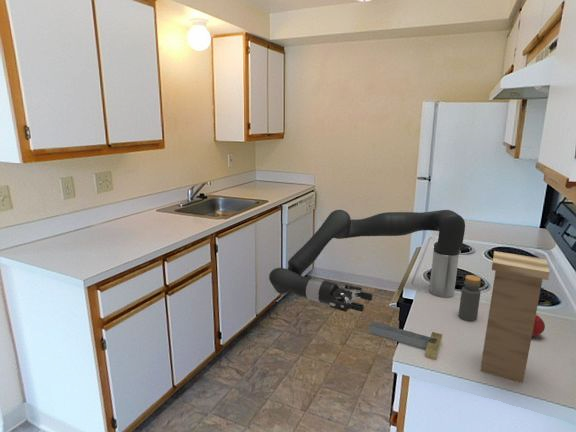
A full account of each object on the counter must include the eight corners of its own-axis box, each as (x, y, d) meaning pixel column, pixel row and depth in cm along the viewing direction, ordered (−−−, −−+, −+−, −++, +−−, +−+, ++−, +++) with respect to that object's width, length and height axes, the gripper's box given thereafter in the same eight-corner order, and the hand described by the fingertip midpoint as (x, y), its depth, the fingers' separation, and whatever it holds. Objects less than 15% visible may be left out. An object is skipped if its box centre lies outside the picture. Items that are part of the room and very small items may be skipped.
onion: (544, 335, 120) (549, 313, 118) (539, 342, 116) (544, 319, 114) (524, 328, 124) (528, 306, 122) (518, 335, 120) (522, 312, 118)
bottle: (478, 322, 128) (484, 281, 124) (460, 320, 129) (465, 280, 125) (474, 314, 133) (479, 274, 130) (456, 312, 135) (461, 273, 131)
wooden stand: (478, 352, 111) (494, 251, 103) (526, 365, 105) (546, 259, 97) (476, 371, 103) (492, 262, 95) (527, 387, 97) (549, 272, 89)
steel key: (375, 324, 127) (376, 316, 126) (441, 343, 116) (442, 334, 116) (365, 339, 118) (366, 330, 117) (435, 360, 108) (437, 351, 107)
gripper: (330, 293, 135) (374, 304, 127) (312, 309, 123) (359, 323, 115) (331, 273, 133) (375, 283, 125) (312, 289, 121) (360, 301, 113)
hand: (367, 302), depth 120 cm, fingers open, 8 cm apart
